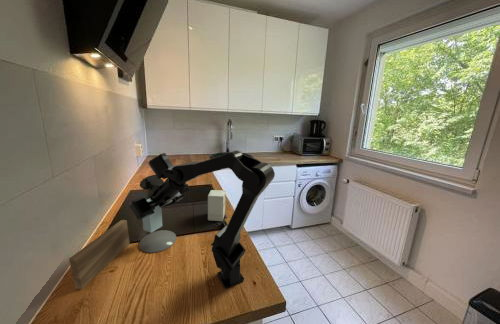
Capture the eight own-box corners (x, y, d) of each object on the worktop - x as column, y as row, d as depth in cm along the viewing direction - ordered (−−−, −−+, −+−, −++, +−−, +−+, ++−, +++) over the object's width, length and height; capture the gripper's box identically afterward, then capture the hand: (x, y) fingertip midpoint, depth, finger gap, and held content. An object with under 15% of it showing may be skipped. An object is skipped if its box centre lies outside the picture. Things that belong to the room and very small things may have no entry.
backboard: (129, 243, 76) (126, 220, 73) (81, 289, 57) (75, 259, 54) (124, 243, 76) (121, 219, 74) (75, 288, 57) (69, 258, 54)
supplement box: (223, 221, 94) (223, 196, 91) (207, 220, 94) (207, 195, 91) (225, 213, 101) (225, 190, 98) (210, 212, 101) (210, 189, 98)
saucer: (179, 245, 76) (179, 244, 76) (140, 257, 70) (140, 255, 69) (172, 228, 87) (172, 227, 87) (138, 236, 80) (138, 235, 80)
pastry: (241, 219, 97) (241, 212, 96) (246, 227, 91) (247, 219, 90) (222, 223, 93) (222, 216, 92) (226, 231, 87) (227, 224, 86)
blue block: (162, 226, 76) (160, 199, 74) (151, 232, 72) (148, 204, 69) (155, 223, 78) (152, 197, 75) (143, 229, 74) (140, 202, 71)
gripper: (177, 163, 76) (158, 185, 83) (129, 177, 59) (111, 203, 67) (194, 187, 74) (173, 207, 82) (150, 208, 58) (129, 230, 65)
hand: (149, 210), depth 74 cm, fingers closed on blue block, 5 cm apart
